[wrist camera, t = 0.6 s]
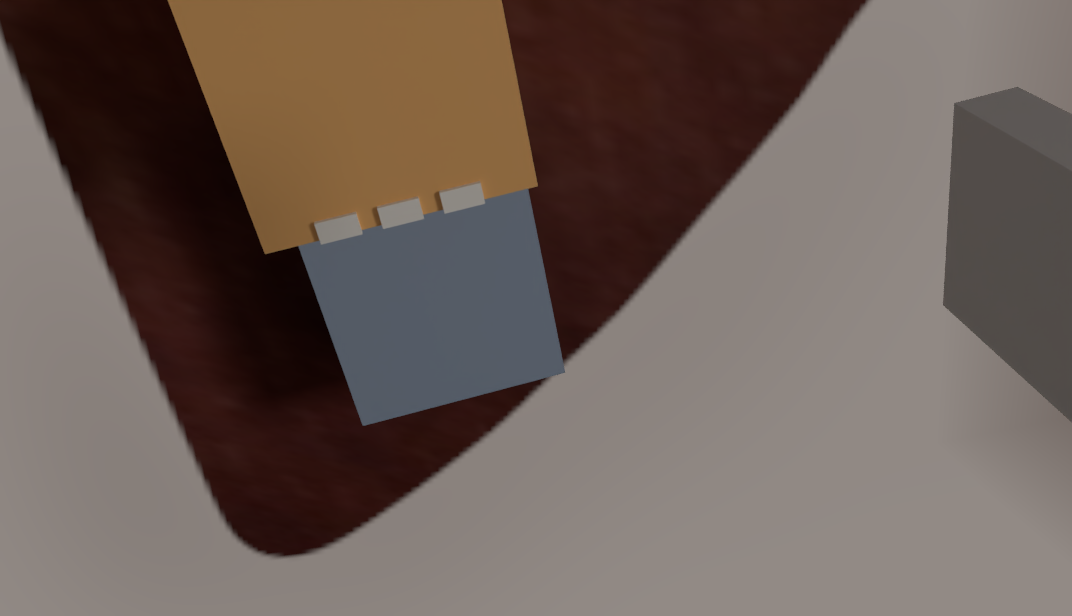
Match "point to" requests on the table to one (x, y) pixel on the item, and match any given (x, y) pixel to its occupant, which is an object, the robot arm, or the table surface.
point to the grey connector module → (438, 307)
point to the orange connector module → (359, 109)
